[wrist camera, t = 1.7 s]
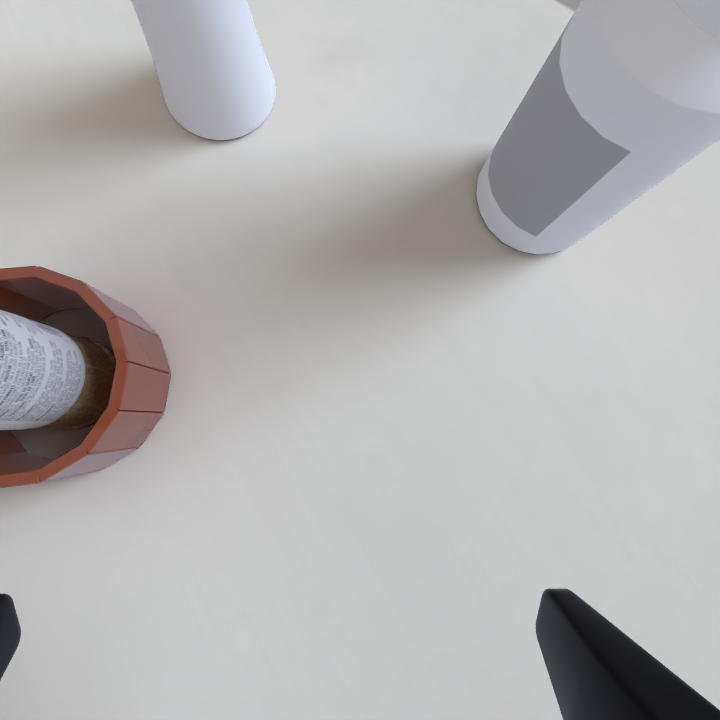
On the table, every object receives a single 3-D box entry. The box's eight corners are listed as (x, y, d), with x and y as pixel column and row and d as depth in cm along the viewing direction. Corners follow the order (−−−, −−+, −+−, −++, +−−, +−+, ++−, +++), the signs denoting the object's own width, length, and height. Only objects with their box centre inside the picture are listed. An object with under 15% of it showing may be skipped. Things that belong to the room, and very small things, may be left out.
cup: (142, 275, 22) (93, 238, 17) (191, 438, 21) (153, 443, 16) (-84, 343, 21) (-197, 321, 16) (-43, 519, 20) (-151, 548, 15)
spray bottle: (516, 121, 25) (1000, -658, 7) (613, 190, 24) (1372, -429, 7) (450, 208, 24) (816, -445, 6) (550, 281, 23) (1252, -165, 6)
